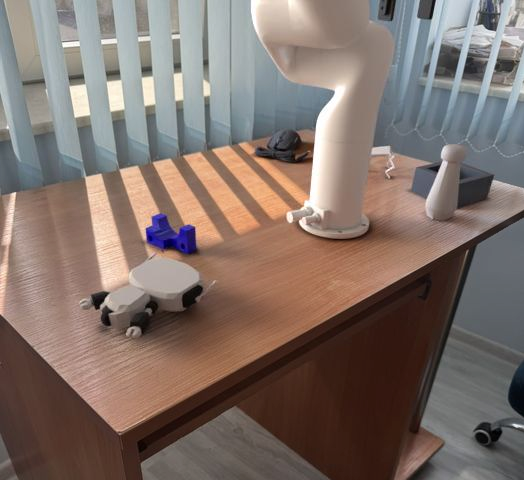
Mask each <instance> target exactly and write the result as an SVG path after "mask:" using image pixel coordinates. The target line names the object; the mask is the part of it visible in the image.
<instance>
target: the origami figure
mask: <svg viewBox="0 0 524 480" xmlns="http://www.w3.org/2000/svg"><path fill="white" fill-rule="evenodd" d="M382 157H383V158H386V157H387V159H388V161H387V162H386V164H385V165H386V167H387V168H388V169H387V170H385V174H386V176H387V177H388V179H391V176H390V174H389V172H391V171H393V170H395V169H396V166H395V164H394V162H393V161H392V160H393V159H394V158H395V157H396V154H395V153H394V151H393V149H392V146H391V145H383V146H376V147H372V153H371V158H382ZM389 164H391V166H390V165H389Z"/></svg>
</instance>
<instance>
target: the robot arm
mask: <svg viewBox="0 0 524 480" xmlns="http://www.w3.org/2000/svg"><path fill="white" fill-rule="evenodd" d="M436 2H437V0H419V2H418V8H417V14H416V18H417V19H420V20H427V21H430V20H432V19H433V17H434V12H435V7H436ZM396 3H397V0H379V3H378V11H377V20H378V21H382V22H383V21H384V22H393V20H394V17H395V9H396ZM250 10H251V18H252V19H251V20H252V23H253V27H254V30H255V33H256V35H257V37H258V39H259V41H260V43H261V44H262V46H263V47H264V49H265V50H266V52H267V54H268V56H269V57H270V58H271V59H272V62H273V63H274V64H275V66H276V67H277V69H278V70H279V72H280V73H281V74H282V76H283V77H284V78H285V79H286V80H287V81H289V82H290V83H293V84H296V85H303V86H309V87H315V88H321V89H327V90H331V91H333V92H334V94H333V96H332V97H331V99H330V100H329V101H328V102H327V104H325V105H324V107H323V108H322V109H321V111H320V112H319V114H318V116H317V119H316V125H315V136H314V147H313V158H312V168H311V179H310V181H311V182H310V190H309V191H310V192H309V199H305V200H304V204H303V206H301V208H300V209H294V210H291V211H288V212H287V213H286V221H287V222H288V223H289V224H293V223H299V226H300V227H301V228H302V229H303V230H305V231H306V232H308V233H309V234H312V235H314V236H317V237H321V238H325V239H333V240H334V239H335V240H346V239H352V238H357V237H361V236H362V235H364V234H365V233H367V231H368V230H369V227H370V220H369V217H368V216H367V215H366V214H364V213H363V210H364V204H365V198H366V197H365V196H366V190H367V185H368V184H367V183H368V177H369V171H370V165H371V158H372V157H371V153H372V148H374V141H375V133H376V127H377V120H378V116H379V110H380V106H381V102H382V97H383V94H384V91H385V87H386V83H387V81H388V76H389V74H390V71H391V67H392V64H393V60H394V55H395V39H394V36H393V35H392V32H391V31H390V29H388V27H386V25H383V24H382V23H380V22H377V21H375V20H370V18H371V4H370V0H250Z"/></svg>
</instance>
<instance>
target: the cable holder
mask: <svg viewBox="0 0 524 480" xmlns="http://www.w3.org/2000/svg"><path fill="white" fill-rule="evenodd" d="M144 230H145V237H146V243H147V244H150V245H153V246H155V247H156V248H159V249H161V250H166V249H169V248H173V249H174V250H176V251H179V252H181V253H184V254H186V255H189V254H191V253H193V252H195V251H197V233H196V226H194V225H191V224H189V223H188V224H186V225H184V226H181V227H179V232H176V231H175V230H173V228H172V226H171V225H170V222H169V219H168V216H167V214H164V213H162V212H160V213H158V214H155V215H152V216H151V225H150V226H147V227H145V229H144Z"/></svg>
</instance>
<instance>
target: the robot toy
mask: <svg viewBox="0 0 524 480" xmlns="http://www.w3.org/2000/svg"><path fill="white" fill-rule="evenodd" d="M157 254H158V252H157V251H156V252H153V253H152V254H151V255H150V256H149V257H148V258H147V259H145V261H143V263H140V264H139V265H137V266H135V267H133V268H132V269H131V271H130V272H129V274H128V282H129V284H128V285H125V286H123V287H120V288H118V289H116V290H114V291H112V292H111V291H110V292H109V291H107V290H106V291H105V290H102V291H98V292H94V293H91V294H90V298H83V299H81V300H80V301H79V302H78V304H79V307H80V309H81V310H83V311H86V310H87V311H89V310H90V309H92V308H93V307H94V309H95V311H97V310H100V312H101V314H100V317H99V318H100V322H101V323H102V324H103V326H105V327H111V329H112V330H121V329H125V328H127V329H126V332H125V336H126V337H127V338H132V339H138V338H139V337H141V335H144V334H145V333H146V331H147V330H148V328H149V327H150V325H151V324H150V322H151V317H150V316H151V315H155V314H157V312H158V311H159V310H161V311H165V312H172V313H173V312H184V311H185V310H186V309H189V308H191V307H193V306H194V305H196V304H198V303H200V302H201V301H202V300H203V298H204V297H205V295H207V294H208V292H209V291H210V290H211V289H212V288H213V287H215V286H216V285H217V283H218V280H217V279H216V280H213V281H212V282H211V284H210V285H209V286H208V287H207V288H205V279H204V277H203V275H202V273H200V272H199V270H197V269H196V268H194V267H192V266H190V265H189V264H187V263H186V262H182V261H181V260H177V259H173V258H168V257H156V256H157Z"/></svg>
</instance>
